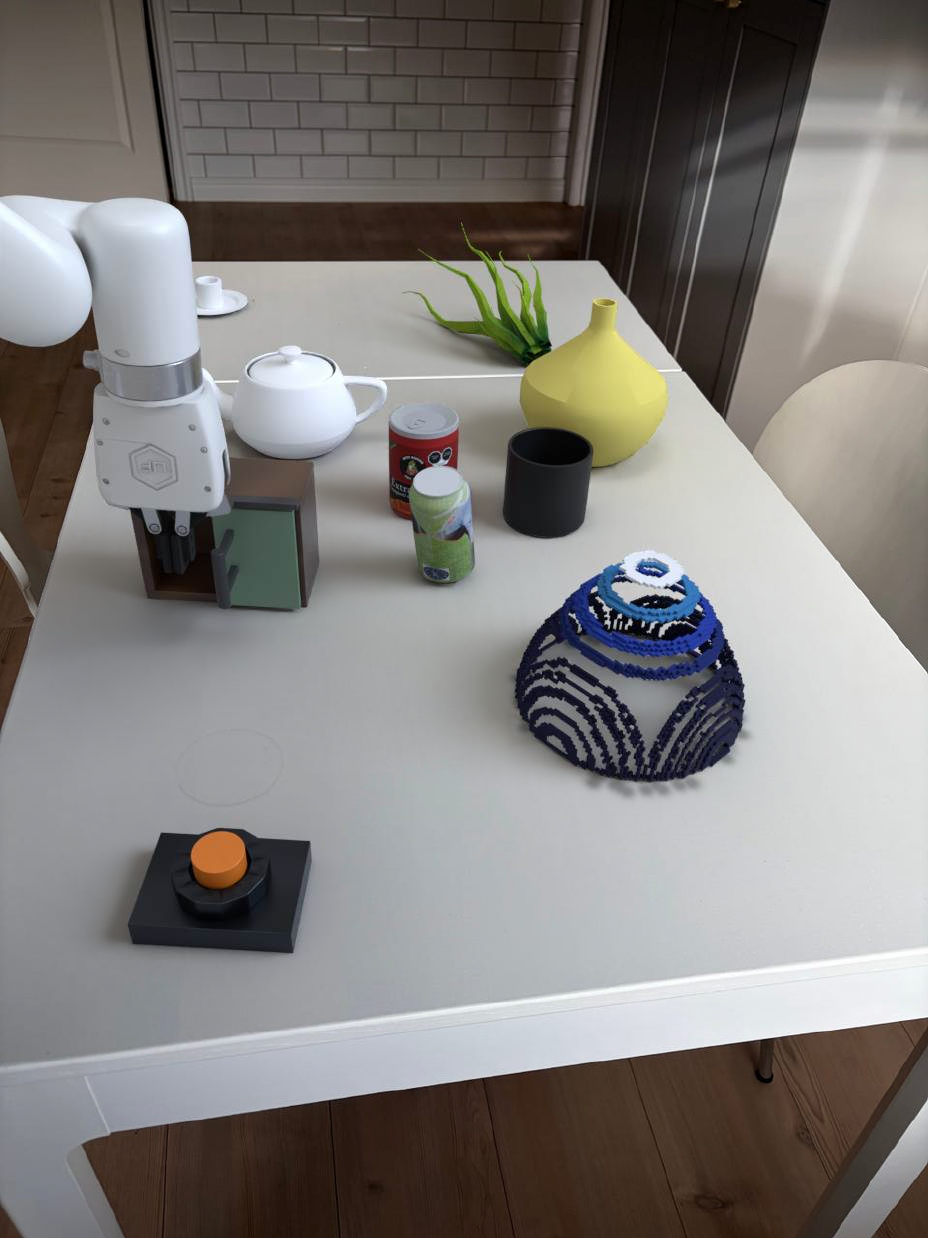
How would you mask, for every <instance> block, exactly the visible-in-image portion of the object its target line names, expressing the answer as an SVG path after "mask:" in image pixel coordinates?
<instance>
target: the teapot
mask: <svg viewBox="0 0 928 1238" xmlns="http://www.w3.org/2000/svg"><path fill="white" fill-rule="evenodd" d="M202 371H203V380H206V381H209V382H210V383H211V386H212V388H213V391H214V394H215V397H216V400H217V404H218V407H219V411H220V415H221V419H224V420H225V421H227V422H231V424H232V427H233V430H234V432H235V433H236V434H237V435H238V437H239V438H240V439H241V440H242V441H243V442H244V443H246V444H247V445H249V446H250V447H252V448H253V449H255V450H256V451H258V452H259V453H260V454H263V455H265V456H268V457H272V458H277V459H281V460H303V459H311V458H315V457H319V456H322V455H325V454H328V453H329V452H331V451H333V450H334V449H336V448H337V447H338V446H339V445H340V444H342V442H344V441H345V440H346V439H347V438H348V437H349V436H350V435H351V433H352V432H353V430H354V428H355V426H357V425H359V424H361V423H363V422H365V421H368V419H370V418H371V417H373V416H374V415H376V413H378V412H379V411H380V410H381V408H383V406H384V404H385V403H386V400H387V396H388V385H387V384H386V383H385V381H383V380H382V379H381V378H377V377H373V376H365V375H344V374H343V372H342V371H341V369H340V367H339V365H338V364H337V363H336V362H335V360H333V359H332V358H330V357H329V356H326V355H324V354H321V353H318V352H313V351H307V350H302V348H301V347H300V346H297V345H289V344H288V345H284V346H281V347H280V348H278V351H273V352H267V353H264V354H261V355H259V356H256V357H254V358H253V359H251V360H250V361H248V362H247V363H246V364H245V366H244V368H243V370H242V372H241V375H240V376H239V379H238V382H237V384H236V388H235V390H234V394H233V395H230V394H227V393H225V392H223V391H222V390H221V389H220V388H219V386H218V385H217V383H216V381H215V380H214V378H213V376H212V375H211V373H210V372H209V371H208V370H207V369H205V368H204V367H203V366H202ZM350 386H364V387H365V386H366V387H372V388H375V389H377V394H376V397H375V400H374V401H373V402H372V404H371V405H370V406H369V407H368V408H367V409H366V410H364V411H362V412H360V413H358V414H357V406H356V401H355V398H354V395H353V393H352V390H351V387H350Z"/></svg>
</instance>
